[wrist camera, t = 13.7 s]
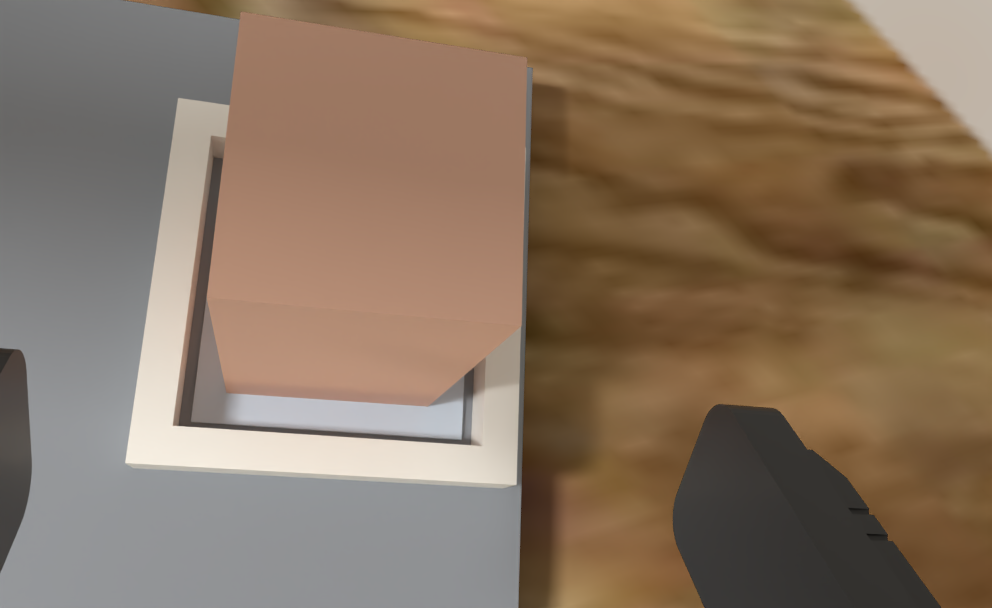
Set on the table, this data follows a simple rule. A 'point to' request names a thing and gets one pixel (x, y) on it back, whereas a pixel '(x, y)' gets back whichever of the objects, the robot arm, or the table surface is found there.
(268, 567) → the build board
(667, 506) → the table surface
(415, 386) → the pillar block
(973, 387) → the table surface
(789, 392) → the table surface
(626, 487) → the table surface
